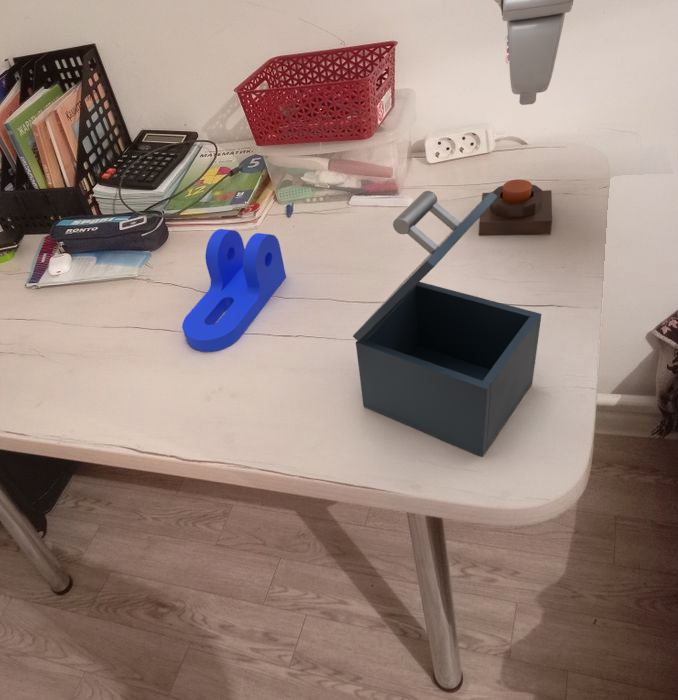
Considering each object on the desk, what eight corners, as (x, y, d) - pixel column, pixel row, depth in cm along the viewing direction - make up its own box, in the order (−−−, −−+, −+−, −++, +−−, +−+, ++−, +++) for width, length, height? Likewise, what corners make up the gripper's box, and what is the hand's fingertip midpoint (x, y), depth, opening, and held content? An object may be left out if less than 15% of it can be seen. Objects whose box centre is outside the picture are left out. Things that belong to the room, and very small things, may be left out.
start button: (530, 189, 87) (532, 178, 86) (530, 203, 84) (531, 191, 83) (502, 191, 88) (503, 179, 87) (501, 204, 86) (502, 193, 85)
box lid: (498, 196, 56) (453, 159, 56) (434, 267, 50) (385, 225, 51) (415, 278, 68) (380, 247, 69) (358, 341, 63) (320, 307, 64)
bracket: (238, 269, 96) (225, 219, 90) (286, 277, 92) (275, 224, 86) (175, 344, 86) (156, 293, 80) (224, 357, 82) (208, 304, 76)
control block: (549, 203, 89) (552, 178, 87) (550, 234, 84) (553, 208, 82) (481, 205, 93) (483, 181, 90) (478, 235, 88) (479, 210, 85)
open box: (532, 383, 66) (541, 313, 60) (482, 457, 61) (486, 389, 55) (415, 344, 75) (413, 279, 69) (363, 406, 70) (355, 342, 63)
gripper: (509, -45, 76) (503, 70, 85) (502, 10, 63) (495, 139, 72) (568, -56, 73) (555, 64, 82) (573, -1, 60) (557, 134, 69)
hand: (527, 99), depth 77 cm, fingers closed
